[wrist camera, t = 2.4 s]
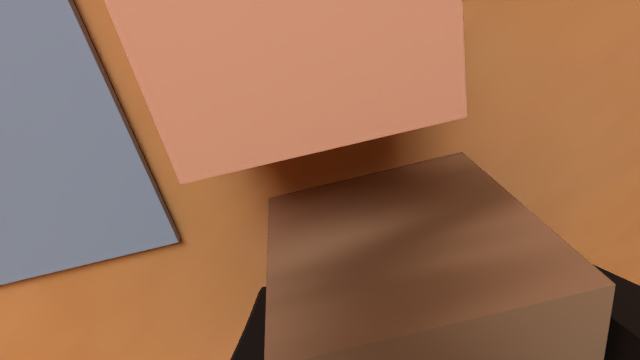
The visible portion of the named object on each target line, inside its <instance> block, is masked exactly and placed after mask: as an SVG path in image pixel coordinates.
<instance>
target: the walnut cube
mask: <svg viewBox="0 0 640 360" xmlns="http://www.w3.org/2000/svg"><path fill="white" fill-rule="evenodd" d="M615 285H616V284H615V283H613V282H612V281H611V280H610V279H609V278H608V277H606V276H605V275H604V274H603V273H602V272H601V271H599V270H598V269H597V268H596V267H595V266H594V265H592V264H591V263H590V262H589V261H588V260H587V259H586V258H584V257H583V256H582V255H581V254H580V253H579V252H577V251H576V250H575V249H574V248H573V247H572V246H570V245H569V244H568V243H567V242H566V241H565V240H563V239H562V238H561V237H560V236H559V235H558V234H557V233H555V232H554V231H553V230H552V229H551V228H550V227H548V226H547V225H546V224H545V223H544V222H543V221H541V220H540V219H539V218H538V217H537V216H536V215H534V214H533V213H532V212H531V211H530V210H529V209H527V208H526V207H525V206H524V205H523V204H522V203H521V202H519V201H518V200H517V199H516V198H515V197H514V196H512V195H511V194H510V193H509V192H508V191H507V190H505V189H504V188H503V187H502V186H501V185H500V184H498V183H497V182H496V181H495V180H494V179H493V178H492V177H490V176H489V175H488V174H487V173H486V172H485V171H483V170H482V169H481V168H480V167H479V166H478V165H476V164H475V163H474V162H473V161H472V160H471V159H469V158H468V157H467V156H466V155H465V154H464V153H463V152H461V153H457V154H453V155H449V156H445V157H440V158H436V159H432V160H428V161H424V162H420V163H415V164H411V165H407V166H403V167H399V168H394V169H390V170H386V171H382V172H378V173H374V174H369V175H365V176H361V177H357V178H353V179H349V180H344V181H340V182H336V183H332V184H328V185H324V186H319V187H315V188H311V189H307V190H303V191H299V192H294V193H290V194H286V195H282V196H278V197H274V198H269V216H268V249H267V283H266V316H265V349H264V360H604V356H605V349H606V343H607V336H608V330H609V324H610V317H611V311H612V305H613V298H614V292H615Z"/></svg>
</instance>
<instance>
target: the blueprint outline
mask: <svg viewBox="0 0 640 360" xmlns="http://www.w3.org/2000/svg"><path fill="white" fill-rule="evenodd" d="M179 240H180V236H179V234H178V232H177V229H176V227H175V225H174V223H173V221H172V218H171V216H170V214H169V212H168V210H167V207H166V205H165V203H164V201H163V198H162V196H161V194H160V192H159V190H158V187H157V185H156V183H155V181H154V179H153V176H152V174H151V172H150V170H149V168H148V165H147V163H146V161H145V159H144V156H143V154H142V152H141V150H140V148H139V145H138V143H137V141H136V139H135V137H134V134H133V132H132V130H131V128H130V125H129V123H128V121H127V119H126V117H125V114H124V112H123V110H122V108H121V106H120V103H119V101H118V99H117V97H116V95H115V92H114V90H113V88H112V86H111V83H110V81H109V79H108V77H107V75H106V72H105V70H104V68H103V66H102V64H101V61H100V59H99V57H98V55H97V52H96V50H95V48H94V46H93V44H92V41H91V39H90V37H89V35H88V33H87V30H86V28H85V26H84V24H83V22H82V19H81V17H80V15H79V13H78V10H77V8H76V6H75V4H74V2H73V0H0V285H3V284H7V283H11V282H16V281H20V280H24V279H28V278H32V277H37V276H41V275H45V274H49V273H53V272H57V271H62V270H66V269H70V268H74V267H78V266H82V265H87V264H91V263H95V262H99V261H103V260H107V259H112V258H116V257H120V256H124V255H128V254H132V253H137V252H141V251H145V250H149V249H153V248H158V247H162V246H166V245H170V244H174V243H178V242H179Z"/></svg>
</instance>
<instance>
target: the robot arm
mask: <svg viewBox="0 0 640 360" xmlns="http://www.w3.org/2000/svg"><path fill="white" fill-rule="evenodd" d="M592 265H593V264H592ZM594 266H595V265H594ZM595 267H596V268H597V269H598V270H599V271H601V272H602V273H603V274H604V275H605V276H606V277H608V278H609V279H610V280H611V281H612V282H613V283H615V284H616V285H615V292H614V298H613V305H612V311H611V317H610V324H609V330H608V336H607V343H606V349H605V356H604V360H640V286H639V285H637V284H634V283H632V282H630V281H628V280H626V279H623V278H621V277H619V276H617V275H614V274H612V273H610V272H608V271H606V270H604V269H601V268H599V267H597V266H595ZM265 316H266V287H262V288H261V290H260V291H259V293H258V296H257V298H256V301H255V304H254V306H253V309H252V312H251V314H250V317H249V319H248V321H247V324H246V326H245V329H244V331H243V333H242V336H241V338H240V340H239V342H238V344H237V347H236V349H235V351H234V353H233V355H232V358H231V360H264V349H265Z"/></svg>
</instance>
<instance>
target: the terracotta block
mask: <svg viewBox="0 0 640 360" xmlns="http://www.w3.org/2000/svg"><path fill="white" fill-rule="evenodd" d="M104 2H105V5H106V7H107V9H108V12H109V14H110V17H111V19H112V21H113V24H114V26H115V29H116V31H117V33H118V36H119V38H120V41H121V43H122V45H123V48H124V50H125V53H126V55H127V57H128V60H129V62H130V65H131V67H132V69H133V72H134V74H135V77H136V79H137V82H138V84H139V86H140V89H141V91H142V94H143V96H144V98H145V101H146V103H147V106H148V108H149V110H150V113H151V115H152V118H153V120H154V122H155V125H156V127H157V130H158V132H159V134H160V137H161V139H162V142H163V144H164V146H165V149H166V151H167V154H168V156H169V159H170V161H171V163H172V166H173V168H174V171H175V173H176V175H177V178H178V180H179V183H180V184H184V183H189V182H193V181H197V180H201V179H206V178H210V177H214V176H218V175H223V174H227V173H231V172H236V171H240V170H244V169H248V168H253V167H257V166H261V165H265V164H270V163H274V162H278V161H283V160H287V159H291V158H295V157H300V156H304V155H308V154H312V153H317V152H321V151H325V150H329V149H334V148H338V147H342V146H347V145H351V144H355V143H359V142H364V141H368V140H372V139H376V138H381V137H385V136H389V135H394V134H398V133H402V132H406V131H411V130H415V129H419V128H423V127H428V126H432V125H436V124H441V123H445V122H449V121H453V120H458V119H462V118H466V117H467V102H466V79H465V56H464V33H463V10H462V0H104Z"/></svg>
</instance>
